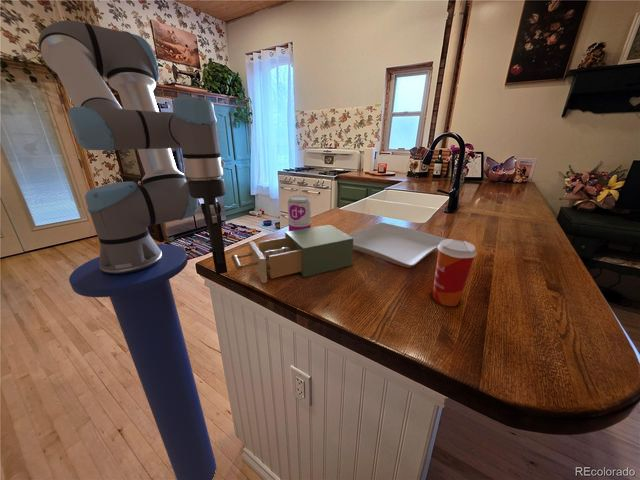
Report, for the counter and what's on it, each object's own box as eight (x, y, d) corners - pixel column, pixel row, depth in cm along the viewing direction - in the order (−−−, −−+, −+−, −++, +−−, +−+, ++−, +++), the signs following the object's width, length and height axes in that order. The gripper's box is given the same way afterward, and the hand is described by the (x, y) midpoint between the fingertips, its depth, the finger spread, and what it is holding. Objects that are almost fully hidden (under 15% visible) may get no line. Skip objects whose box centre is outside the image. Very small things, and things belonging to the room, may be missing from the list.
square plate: (448, 248, 87) (451, 238, 86) (410, 277, 69) (412, 264, 68) (380, 229, 105) (381, 220, 103) (336, 248, 87) (336, 237, 86)
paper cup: (430, 286, 65) (440, 235, 60) (464, 295, 62) (478, 242, 56) (425, 302, 59) (435, 247, 54) (462, 313, 55) (477, 255, 50)
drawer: (240, 288, 62) (237, 264, 60) (231, 267, 72) (228, 245, 70) (314, 270, 71) (314, 248, 68) (296, 253, 81) (296, 233, 78)
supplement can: (306, 242, 92) (306, 201, 86) (285, 239, 94) (283, 199, 88) (313, 234, 99) (313, 196, 93) (293, 232, 101) (292, 194, 96)
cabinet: (303, 277, 69) (303, 248, 66) (286, 257, 80) (285, 231, 77) (351, 265, 76) (353, 238, 73) (329, 248, 87) (330, 224, 84)
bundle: (286, 258, 75) (285, 243, 74) (292, 265, 71) (292, 250, 70) (263, 263, 72) (262, 248, 71) (268, 270, 68) (267, 255, 67)
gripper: (228, 180, 52) (241, 280, 61) (220, 173, 63) (232, 259, 72) (187, 183, 49) (208, 288, 58) (186, 175, 60) (203, 264, 69)
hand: (221, 272), depth 65 cm, fingers closed
